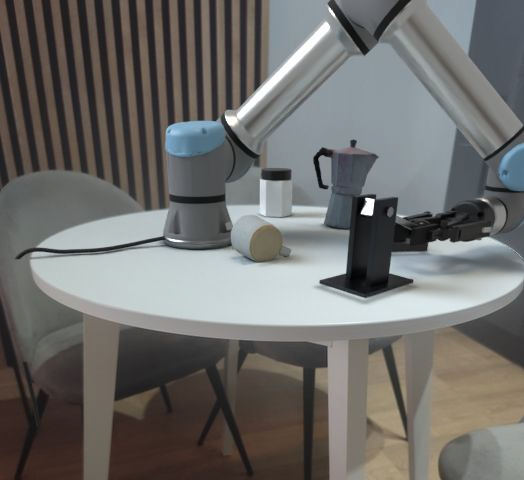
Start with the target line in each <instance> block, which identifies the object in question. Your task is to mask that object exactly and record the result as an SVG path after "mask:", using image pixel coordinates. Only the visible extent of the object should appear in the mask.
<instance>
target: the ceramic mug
mask: <svg viewBox="0 0 524 480" xmlns="http://www.w3.org/2000/svg"><path fill="white" fill-rule="evenodd" d="M231 243H232V244H231V245H232V248H233V250H235V252H237V253H238V254H240V255H242V256H243V257H246V258H248V259H250V260H252V261H253V262H256V263H264V262H268V261H269V262H270V261H273V260H276V258H277V257H278V256H279V255H280V256H283V257H285V258H287V257H290V255H291V253H292V249H291V248H289V247H287V246H284V239H283V235H282V232H281V231H280V230H279V229H278V227H277V226H275V224H273V223H271V222H269V221H267V220H265V219H263V218H261V217H259V216H258V215H256V214H245V215H243V216H241V217H239V218H238V219H237V220H236V221H235V222H234V224H233V228H232V230H231Z"/></svg>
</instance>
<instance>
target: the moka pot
mask: <svg viewBox="0 0 524 480" xmlns="http://www.w3.org/2000/svg"><path fill="white" fill-rule="evenodd" d="M357 142H358V141H357V140H356V139H350V140H349V145H350V146H348V147H345V148H339V149H335V148H334V149H332V148H326V147H323V146H322V147H321V148H320V149H319V150H318V151H317V152H316V153H315V154H314V155H313V157H312V162H313V166H314V171H315V175H316V178H317V179H316V180H317V185H318V188H319V189H322V190H328V189H329V188H331V194H330V198H329V201H328V202H329V203H328V206H327V210H326V213H325V218H324V221H323V224H324V225H325V226H329V227H332V228H336V229H347V230H350V220H351V208H352V196H357V195H362V193H363V187H365V185H366V181H367V176H368V175H369V173H370V171H371V170H372V168H373V166H374V165H375V163H376V161H377V160H378V159H380V156H379V155H377V154H376V153H375V152H372V151H371V152H370V151H367V150H363V149H361V148H358V147H356V146H357ZM321 157H325V158H330V160H331V162H330V163H331V164H330V166H331V168H330V169H331V172H330V173H331V175H330V176H331V178H330V181H331V183H330V184H332V186H331V187H330V186H329V184H328V185H327V184H324V183H323V179H322V171H321V165H320V160H319V159H320V158H321Z"/></svg>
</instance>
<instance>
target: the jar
mask: <svg viewBox="0 0 524 480" xmlns="http://www.w3.org/2000/svg"><path fill="white" fill-rule="evenodd" d="M292 172H293V171H292V169H291V168H285V167H264V168H261V171H260V176H261V178H259V215H261V216H263V217H265V218H286V217H290V216H292V213H293V188H294V187H293V186H294V180H293V179H292Z"/></svg>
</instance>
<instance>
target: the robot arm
mask: <svg viewBox="0 0 524 480" xmlns="http://www.w3.org/2000/svg"><path fill="white" fill-rule="evenodd" d="M427 1H428V0H328V2H327V3H326V4H325V11H324V17H323V19H322V21H320V23H319V24H317V26H316V27H315V28H314V29H312V31H311V32H310V33H309V34H308V35H307V36H306V37H305V38H304V39H303V40H302V41H301V43H299V44H298V46H296V48H294V49H293V51H292V52H291V53H290V54H288V56H287V57H286V58H285V59H284V60H283V61H282V62H281V64H280V65H278V66H277V67H276V69H274V70H273V72H272V73H271V74H270V75H269V76H268V77H267V78H266V79H265V80H264V81H263V82H262V83H261V84H260V85H259V87H258V88H256V90H255V91H254V92H253V93H252V94H251V95H250V96H248V98H247V99H246V100H244V102H243V103H242V104H241V105H240V106H239V107H238V109H226V110H225V111H224V112H223V113H222V115H220V117H219V118H217V119H216V121H213V120H190V121H181V122H175V123H173V124H170V125H169V126H168V127H167V128H166V130H165V142H164V149H165V156H166V158H165V159H166V169H167V170H166V172H167V187H168V199H169V205H168V210H167V214H166V218H165V223H164V227H163V229H162V230H163V231H162V236H157V237H151V238H147V239H142V240H137V241H133V242H128V243H122V244H117V245H111V246H105V247H94V248H72V249H71V248H69V249H58V248H48V247H37V246H36V247H29V248H26V249H24V250H22V251H20V252H19V253H18V254H17V255H16V256H15V257H14V260H21V259H22V258H23V257H24V256H27V255H28V254H32V253H48V254H57V255H69V254H70V255H71V254H90V253H92V254H93V253H102V252H103V253H104V252H110V251H111V252H112V251H116V250H117V251H118V250H122V249H127V248H131V247H136V246H137V247H138V246H141V245H146V244H151V243H156V242H161V241H163V243H164V245H167V246H169V247H173V248H177V249H179V248H180V249H191V250H203V249H216V248H223V247H227V246H230V245H232V243H231V230H232V228H233V226H234V224H233V221H232V219H231V217H230V212H229V209H228V207H227V200H226V193H227V191H226V184H229V183H230V184H231V183H234V182H236V181H239V180H240V179H242V178H244V177H245V175H247V173H248V172H249V171H250V169H251V168H252V166H253V163H255V161H257V159H259V158H260V157H261V155H263V153H264V146H265V145H264V143H265V142H266V141H267V140H268V139H269V138H270V137H271V136H272V135H273V134H274V133H275V132H276V131H277V130H279V128H280V127H281V126H282V125H283V124H284V123H285V122H286V121H288V119H290V118H291V117H292V116H293V115H294V114H295V113H296V112H297V111H298V110H299V109H300V108H301V107H302V106H303V105H304V104H306V102H307V101H308V100H309V99H310V98H311V97H312V96H313V95H314V94H315V93H316V92H318V91H319V90H320V89H321V88H322V87H323V86H324V85H325V84H326V83H327V82H328V81H329V80H330V79H331V78H332V77H333V76H334V75H336V73H337V72H338V71H339V70H340V69H341V68H343V66H345V65H346V64H347V63H348V62H349V61H350V59H352V58H364V57H365V56H366V55H367V54H368V53H370V52H371V51H372V50H373V49H374V48H375V47H376V46H377V45H378V44H379V45H388V46H390V48H391V49H392V50H393V52H394V53H395V54H396V55H397V56H398V58H399V59H400V60H401V62H403V64H404V65H405V67H407V69H408V70H409V71H410V72H411V73H412V75H413V76H414V77H415V78H416V80H417V81H418V82H419V83H420V84H421V86H423V88H424V89H425V90H426V91H427V93H428V94H429V95H430V97H431V98H432V99H433V100H434V101H435V102H436V104H437V105H438V106H439V107H440V109H442V110H441V111H443V112H444V113H445V115H446V116H447V117H448V118H449V120H450V121H451V122H452V123H453V124H454V126H455V127H456V128H457V129H458V130H459V132H460V133H461V134H462V135H463V136H464V137H465V139H466V140H467V141H468V143H470V145H471V146H472V147H473V149H474V150H475V151H476V152H477V154H479V156H480V157H481V158H482V160H483V161H484V162H485V164H486V165H487V167H488V170H487V175H486V183H485V186H484V191H483V196H482V197H476V198H473V199H466V200H462V201H459V202H458V203H456V204H455V205H454V206H452V208H451V209H450V210H447V211H445V212H437V213H436V214H435V215H434V213H433V212H431V211H429V210H426V211H423V212H422V213H416V214H413V215H408V216H403V217H401V218H403V219H405V220H407V221H410V222H412V223H414V222H416V221H418V220H425V221H427V222H429V223H430V225H426V226H421V227H416V228H412V230H411V236H410V230H409V229H406V228H404V227H402V226H400V225H398V224H395V230H394V238H393V241H396V240H400V239H405V238H407V239H410V246H417V245H421V244H425V243H428V244H429V243H434V242H437V241H440V242H445V241H447V240H449V242H450V243H453V244H456V243H459V242H462V243H468V242H473V241H481V240H483V238H488V237H489V238H490V237H493V236H495V235H501V234H506V233H509V232H512V231H515V230H517V229H518V228H520V227H522V226H523V225H524V124H523V122H521V120H520V119H519V118H518V116H517V115H516V114H515V112H514V111H513V110H512V109H511V108H510V106H509V105H508V104H507V103H506V102H505V100H504V99H503V98H502V97H501V95H500V94H499V92H497V90H496V89H495V88H494V87H493V85H492V84H491V83H490V81H489V80H488V79H487V77H486V76H485V75H484V74H483V72H482V71H481V70H480V69H479V68H478V66H477V65H476V64H475V62H474V61H473V60H472V58H470V56H469V55H468V54H467V53H466V51H465V50H464V49H463V48H462V46H461V45H460V44H459V42H457V40H456V38H455V37H453V35H452V34H451V32H450V31H449V30H448V28H446V26H445V25H444V24H443V22H442V21H441V20H440V19H439V18H438V16H437V15H436V13H434V11H433V10H432V9H431V7H430V6H429V5H428V4H427ZM433 215H434V216H433ZM21 363H22V367H23V372H24V375H25V379H26V383H27V387H28V388H27V389H28V392H29V397H30V400H31V405H32V408H33V414H34V418H35V424H36V428H40V427H42V424H41V419H40V414H39V408H38V404H37V399H36V395H35V391H34V386H33V382H32V378H31V374H30V369H29V366H28V365H29V364H28V361H21Z"/></svg>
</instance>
